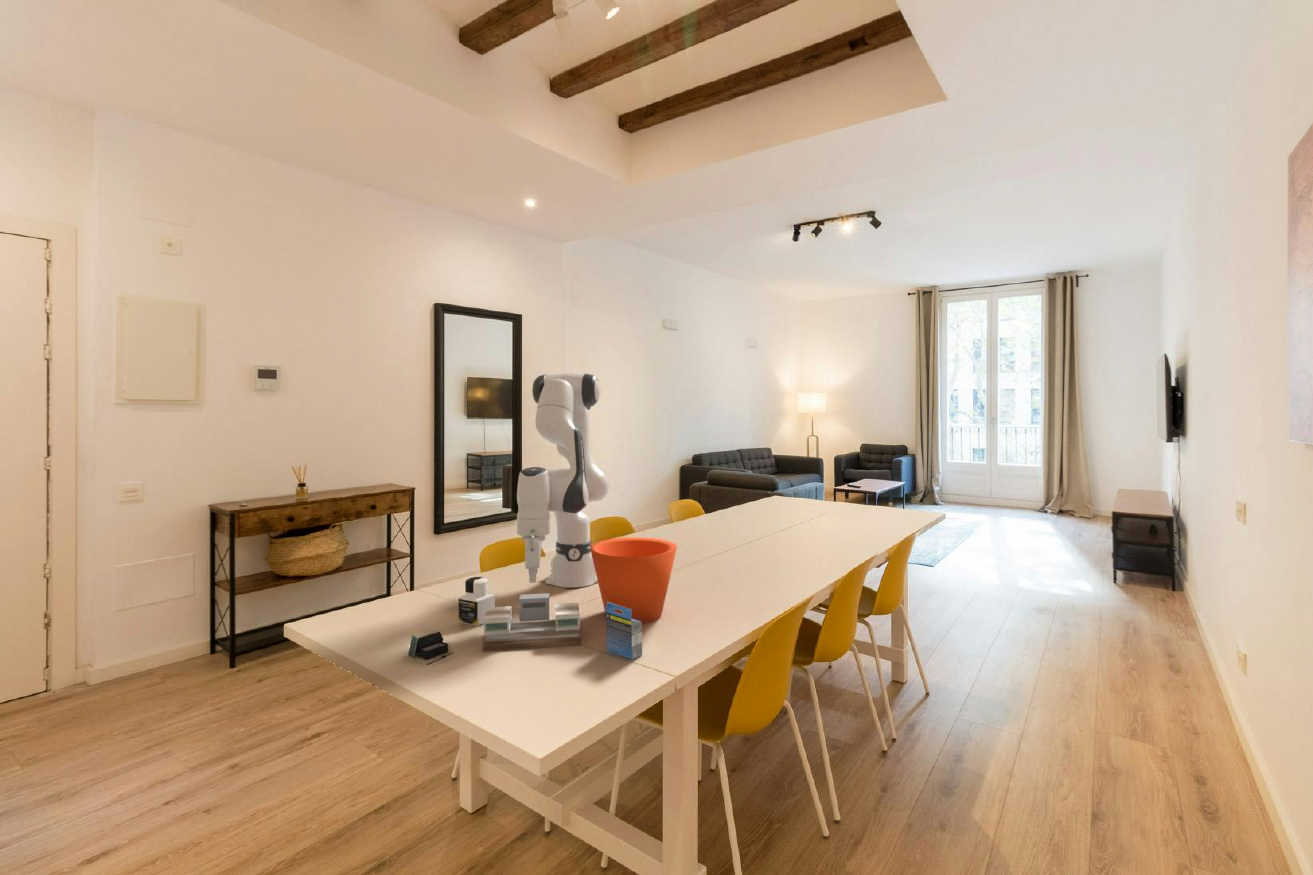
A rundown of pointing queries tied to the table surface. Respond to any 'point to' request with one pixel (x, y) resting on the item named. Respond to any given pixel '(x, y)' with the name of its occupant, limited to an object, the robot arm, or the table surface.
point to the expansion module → (534, 607)
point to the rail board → (531, 629)
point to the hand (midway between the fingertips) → (533, 577)
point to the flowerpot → (634, 574)
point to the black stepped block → (428, 647)
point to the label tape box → (623, 632)
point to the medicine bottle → (475, 601)
